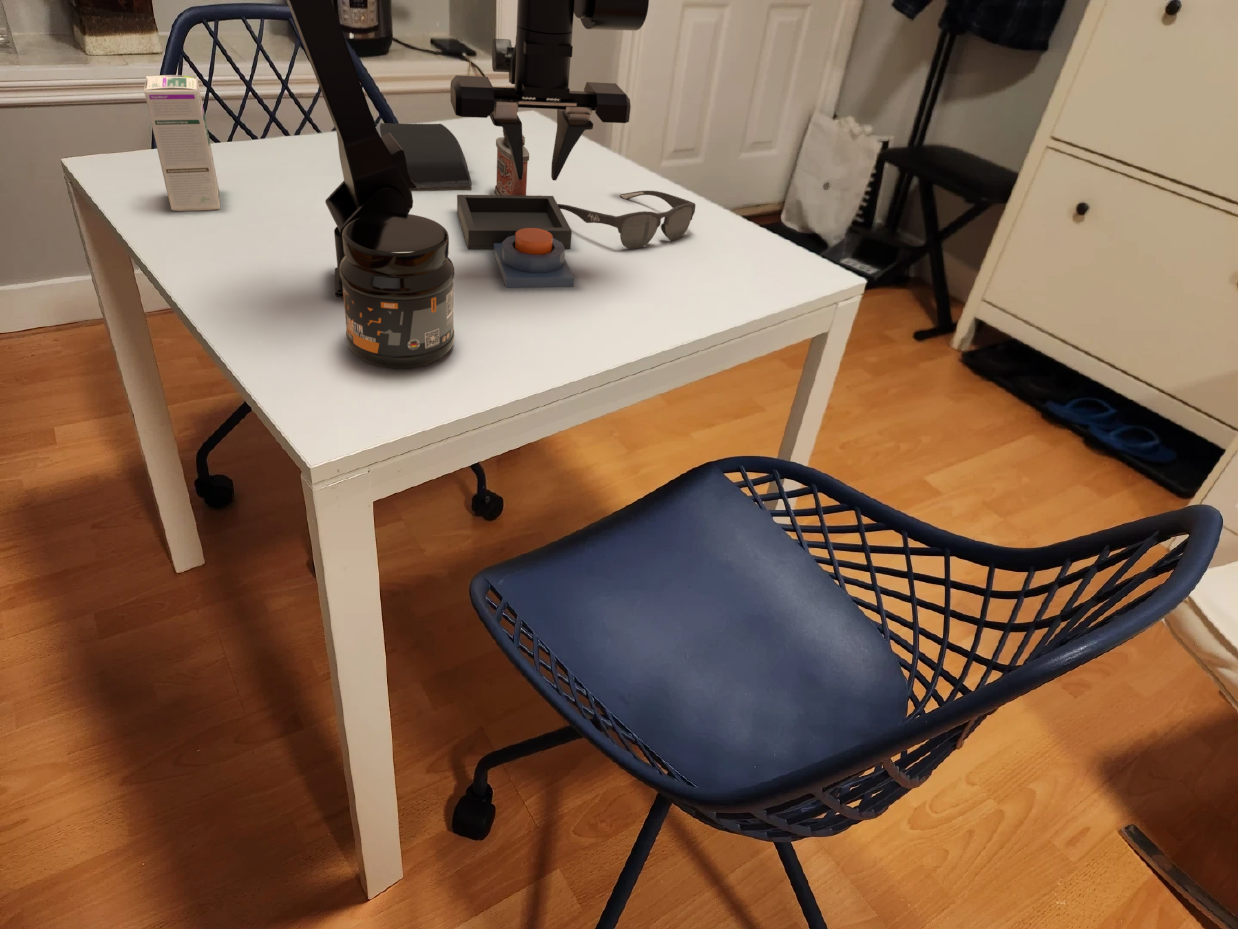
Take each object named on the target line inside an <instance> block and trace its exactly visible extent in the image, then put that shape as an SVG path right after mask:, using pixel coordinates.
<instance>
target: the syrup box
mask: <svg viewBox="0 0 1238 929" xmlns="http://www.w3.org/2000/svg"><path fill="white" fill-rule="evenodd" d="M198 79H199V78H198V77H196V76H192V75H181V74H163V75H151V76H150V75H146V77H145V82H144V89H143V92H144V96H145V101H146V106H147V109H148V114H149V118H150V123H151V127H152V131H153V132H152V133H153V136H154V141H155V145H156V151H157V154H158V159H159V163H160V167H161V171H162V176H163V180H164V185H165V189H166V192H167V198H168V202H169V206H170V209H171V211H176V212H177V211H180V212H181V211H183V212H186V211H187V212H188V211H211V210H212V211H213V210H220V209H221V194H220V187H219V182H218V177H217V173H216V166H215V161H214V155H213V150H212V144H211V139H210V135H209V129H208V124H207V119H206V115H205V110H204V105H203V100H202V95H201V88H200V84H199V80H198Z"/></svg>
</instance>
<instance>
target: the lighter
mask: <svg viewBox="0 0 1238 929" xmlns="http://www.w3.org/2000/svg"><path fill="white" fill-rule="evenodd" d="M502 134H503V136H500V137H497V138H496V139H495V146H496V149H497V150H496V151H497V152H496V183H495V184H496V185H495V186H494V195H527V184H528V162H529V161H530V152H529V150H528V149H527V147H525V145H526V144H525V143H526V137H525V135H524V134H523V133H522V140H523V177H522V180H519V179H518V177H517V174H516V170H515V166H514V163H513V159H512V155H511V151H510V148H509V144H508V141H507V138H506V135H505V133H504V130H503V129H502Z"/></svg>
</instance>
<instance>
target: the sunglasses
mask: <svg viewBox="0 0 1238 929" xmlns="http://www.w3.org/2000/svg"><path fill="white" fill-rule="evenodd" d="M641 196H652V197H656V198H660V199H661V200H663V201H664V202H666V203H667V204H668V205H669V206H670V207H671V209H669V210H668V211H664V212H663V211H662V212H654V211H647V210H645V211H644V210H643V211H635V212H629V213H625V214H621V215H613V214H608V213H607V214H606V213H602V212H597V211H593V210H590V209H589V210H588V209H585V208H580V207H577V206H573V205H569V204H562V203H557V204H558V206H559V208H560V210H564V211H567V212H569V213H572V214H574V215H575V216H577V217H578V218H579V219H581V221H583V222H585V223H586V224H602V225H607V226H610V227H613V228H615V229H617V232H618V234H619V238H620V242H621V244H622V245H623V247H624V248H627V249H630V250H633V249H641V248H643V247H644V246H646V245H648V243H649V242H651V240H652V239H653V238H654V236H655V235H656V233H657V230H658V228H659V227H660V230H661V232H662V234H664V236H665V237H666V238H667V239H668V240H669V241H671V242H672V241H676V240H679V239H681V238H682V237H683V236H684V235H685V234H686V232H687V230H688V229H689V227H690V223H691V222H692V221H693V217H694V215H695V213H696V203H695V202H694V201H693V202H692V201H690V200H688V199H685V198H683V197H679V196H676V195H673V194H669V193H666V192H662V191H658V190H637V191H631V192H625V193H621V194H619V198H621V199H623V200H630V199H633V198H637V197H641ZM662 219H663V223H662Z"/></svg>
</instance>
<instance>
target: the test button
mask: <svg viewBox="0 0 1238 929" xmlns="http://www.w3.org/2000/svg"><path fill="white" fill-rule="evenodd" d="M552 241H553V236H552V234H551V233H550V232H548V231H546V230H543V229H538V228H524V229H520V230H518V231H517V232H516V234H515V249H516V250H518V251H520V252H522V253H526V254H531V255H543V254H547V253H550V252H552Z"/></svg>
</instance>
